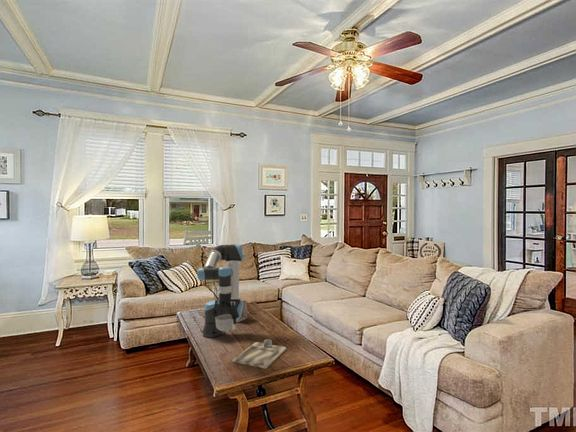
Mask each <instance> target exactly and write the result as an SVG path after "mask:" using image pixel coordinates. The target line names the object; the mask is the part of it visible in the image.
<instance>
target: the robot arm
mask: <svg viewBox="0 0 576 432" xmlns="http://www.w3.org/2000/svg"><path fill="white" fill-rule="evenodd" d="M243 260H244V252H243V246H242V244H235V243H234V244H219V245H216V246H215V247H213V248H212V249H211V250H210V251H209V252H208V254H207V260H206V262H205V264H204V266H203V267H200V268H198V270H197V280H198V281H214V280H215V281H216V280H217V281H219V284H218V290H219V291H218V299H216V300H214V299H213V300H210V301H208V302H206V303H204V325H203V329H202V337H205V338H217V337H221V336H224V334H225V331H220V330H219V329H217V327H216V319H215V318H216V317H217V316H220V315H226V314H229V315H231V316H232V318H233V319H232V328H231V330H232V331H234V330H236V324H237V322H236V319H239V318H240V317H241V314H242V308H243V302H241V299H242V298H241V297H240V265H241V264H242V261H243ZM220 261H225V263H226V264H227V266H221V267H217V266H218V263H219V262H220ZM239 297H240V298H241V299H240V298H239Z"/></svg>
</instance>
